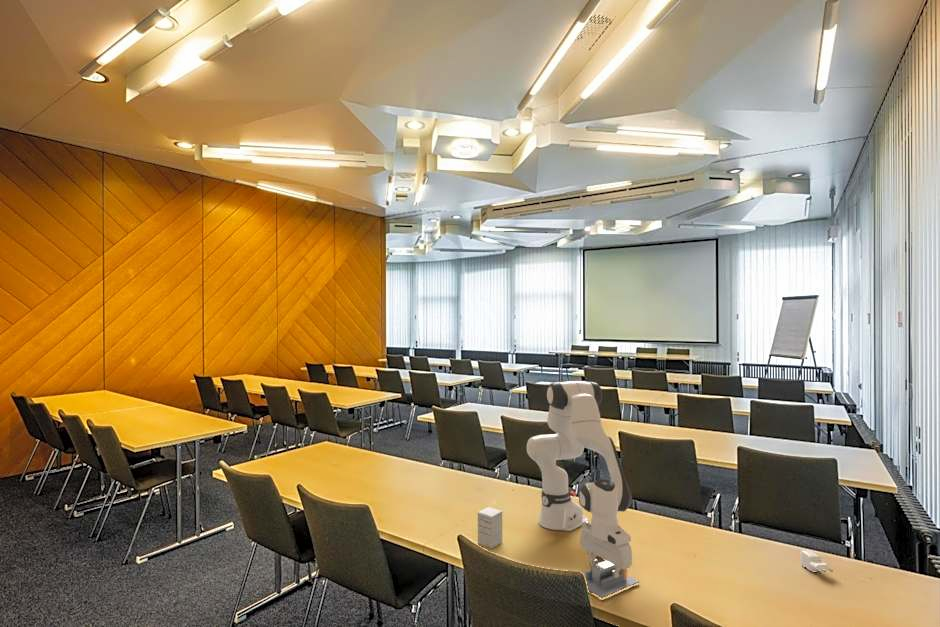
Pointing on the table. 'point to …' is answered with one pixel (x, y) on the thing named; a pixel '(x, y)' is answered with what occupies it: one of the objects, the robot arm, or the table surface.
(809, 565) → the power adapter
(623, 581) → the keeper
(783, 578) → the table surface
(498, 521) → the supplement box
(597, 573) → the link block
